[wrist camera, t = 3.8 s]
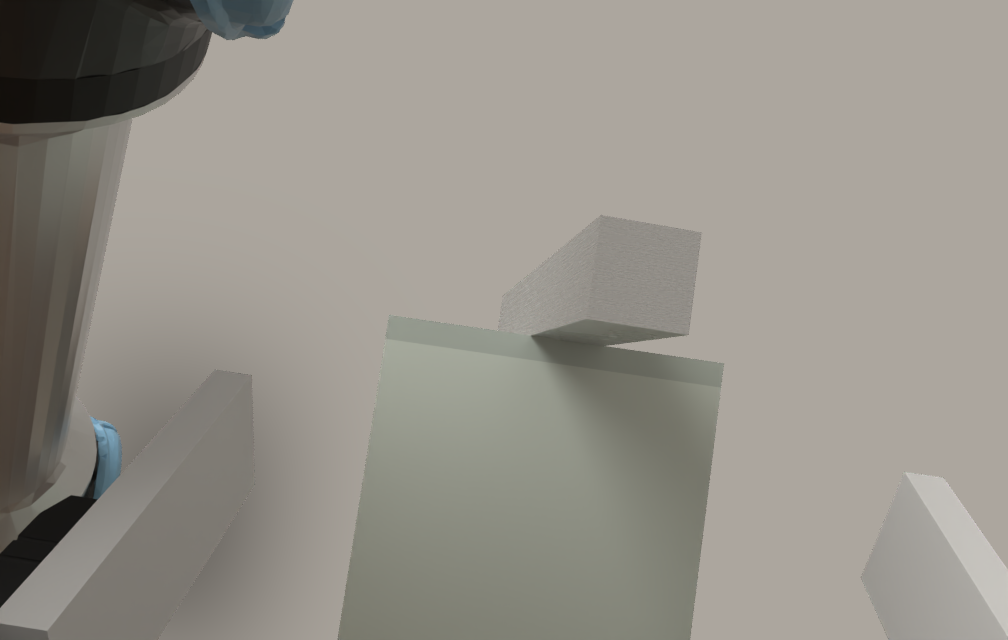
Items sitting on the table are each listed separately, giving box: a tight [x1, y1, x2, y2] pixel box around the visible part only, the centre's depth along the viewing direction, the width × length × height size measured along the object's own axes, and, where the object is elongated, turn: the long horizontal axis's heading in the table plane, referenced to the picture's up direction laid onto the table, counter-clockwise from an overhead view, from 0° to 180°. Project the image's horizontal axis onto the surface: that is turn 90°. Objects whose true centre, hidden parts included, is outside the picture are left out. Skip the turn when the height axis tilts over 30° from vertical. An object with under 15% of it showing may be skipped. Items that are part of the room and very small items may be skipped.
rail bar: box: [498, 215, 701, 346], centre depth 34 cm, size 24×3×3 cm, turn 7°
